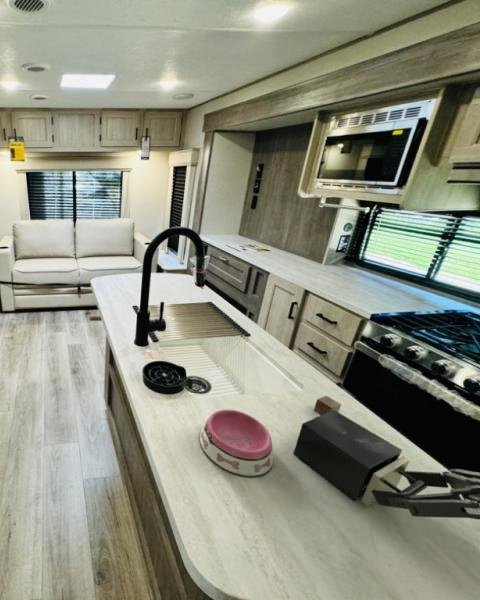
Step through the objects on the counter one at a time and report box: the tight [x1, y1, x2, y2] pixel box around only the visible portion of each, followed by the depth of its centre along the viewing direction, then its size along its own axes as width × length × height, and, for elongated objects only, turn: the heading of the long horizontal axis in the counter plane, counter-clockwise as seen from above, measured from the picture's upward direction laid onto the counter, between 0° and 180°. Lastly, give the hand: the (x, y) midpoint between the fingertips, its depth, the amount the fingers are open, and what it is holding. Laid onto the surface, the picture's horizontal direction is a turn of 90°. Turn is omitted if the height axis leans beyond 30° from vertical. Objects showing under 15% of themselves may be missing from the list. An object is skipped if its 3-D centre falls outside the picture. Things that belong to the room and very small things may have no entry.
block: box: [313, 395, 342, 416], centre depth 97 cm, size 4×4×4 cm
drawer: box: [360, 455, 428, 507], centre depth 74 cm, size 18×11×9 cm, turn 22°
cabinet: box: [293, 410, 403, 503], centre depth 78 cm, size 15×13×11 cm
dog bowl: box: [198, 409, 274, 478], centre depth 85 cm, size 18×19×7 cm
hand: (392, 487), depth 69 cm, fingers closed on drawer, 11 cm apart
